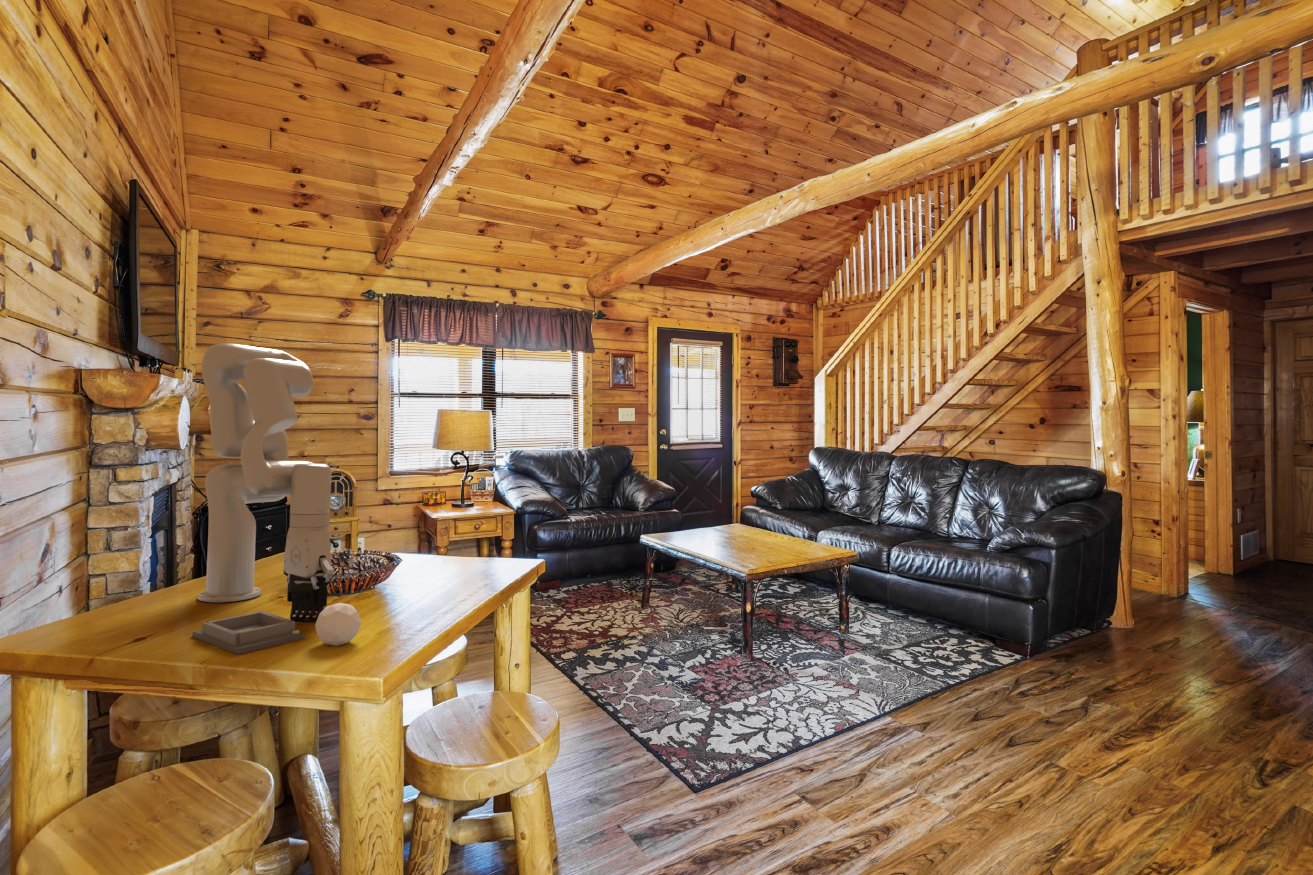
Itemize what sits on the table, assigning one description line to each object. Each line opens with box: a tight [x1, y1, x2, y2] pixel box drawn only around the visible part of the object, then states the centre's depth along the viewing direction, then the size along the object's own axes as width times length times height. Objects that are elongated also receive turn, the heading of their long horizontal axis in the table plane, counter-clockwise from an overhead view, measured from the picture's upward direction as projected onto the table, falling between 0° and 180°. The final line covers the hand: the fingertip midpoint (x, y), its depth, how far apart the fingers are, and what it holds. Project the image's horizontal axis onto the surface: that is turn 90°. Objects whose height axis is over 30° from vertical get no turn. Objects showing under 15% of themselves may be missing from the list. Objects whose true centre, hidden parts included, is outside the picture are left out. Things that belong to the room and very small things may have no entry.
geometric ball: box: [314, 602, 362, 647], centre depth 124 cm, size 8×8×8 cm
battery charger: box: [289, 572, 327, 622], centre depth 138 cm, size 7×4×11 cm, turn 91°
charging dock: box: [191, 610, 305, 655], centre depth 125 cm, size 17×12×3 cm
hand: (306, 603), depth 138 cm, fingers open, 8 cm apart
